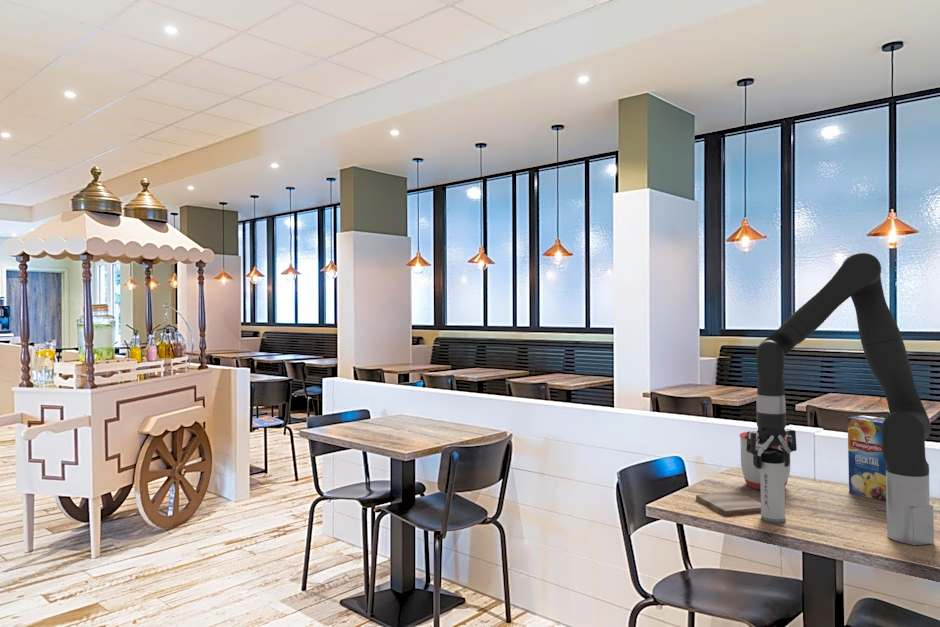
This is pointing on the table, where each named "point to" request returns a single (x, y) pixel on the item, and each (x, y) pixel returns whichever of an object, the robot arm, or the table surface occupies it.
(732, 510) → the walnut board
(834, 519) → the table surface
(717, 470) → the table surface
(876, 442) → the juice carton
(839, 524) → the table surface
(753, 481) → the citrus juicer
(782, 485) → the travel mug
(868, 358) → the robot arm
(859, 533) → the table surface
